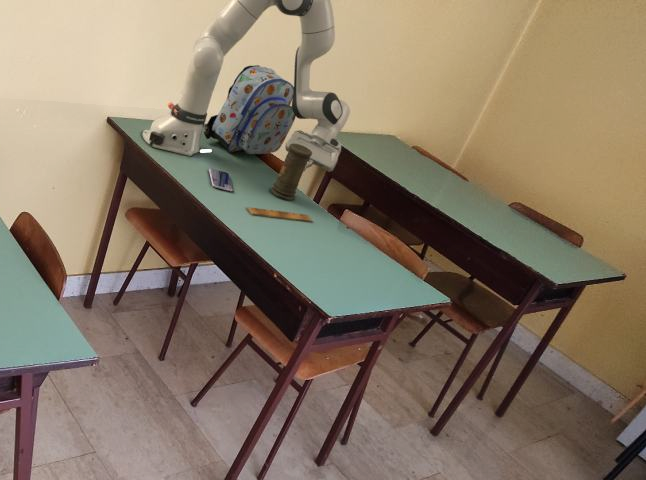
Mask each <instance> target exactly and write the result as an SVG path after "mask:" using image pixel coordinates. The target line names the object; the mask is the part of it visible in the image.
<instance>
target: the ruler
mask: <svg viewBox="0 0 646 480" xmlns="http://www.w3.org/2000/svg"><path fill="white" fill-rule="evenodd" d="M247 210H248V212H249V213H250V214H251V215H252V216H258V217H267V218H275V219H284V220H291V221H292V220H293V221H300V222H307V223H312V222H313V219H312V218H311V217H310V216H309V214H303V213H295V212H287V211H282V210H281V211H280V210H273V209H264V208H257V207H247Z"/></svg>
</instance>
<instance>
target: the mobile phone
mask: <svg viewBox="0 0 646 480" xmlns="http://www.w3.org/2000/svg"><path fill="white" fill-rule="evenodd" d="M208 172H209V177H210V181H211V185H212V188H214V189H219V190H223V191H227V192H233V191H234V188H233V185H232V181H231V177H230V175H229V173H228V172H226V171H222V170H218V169H215V168H209V169H208Z"/></svg>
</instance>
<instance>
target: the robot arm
mask: <svg viewBox="0 0 646 480" xmlns="http://www.w3.org/2000/svg"><path fill="white" fill-rule="evenodd" d="M271 7H276V8H277V9H278V11H279V12H280V13H282V14H284V15H286V16H293V17H299V21H300V29H301V38H300V39H301V40H300V45H299V46H298V47H297V49H296V51H295V55H294V56H295V57H294V70H293V71H294V72H293V73H294V74H293V75H294V76H293V87H294V94H293V99H292V101H291V106H292V110H293V113H294V114H295V116H296V117H295V118H296V119H299V120H317V124H316V125H314V127H313V129H312V131H311V132H310V134H309V133H308V132H305V131H303V130H301V129H300V130H294V131H293V133H292V134H291V137H289V139H287V141H286V142H285V145H284V146H285V147H284V148H285V151H286V152H287V153H288V150H289V146H290V144H299V145H302V146H305V147H307V148H308V149H310V150H311V151H312V155H311V156H310V158H309V160H308V162H307V165H306V167H305V169H304V171H303V172H306V170H307V169H308V168H311V167H313V166H316V167H318V168H320V169H323V170H324V171H326V172H328V173H330V172H333V171H334V169H335V168H336V165H337V163H338V160H339V156H340V154H341V151H342V144H341V142H339V141H338V140H337V139H336V138H337V135H338V134H339V133H341V131H342V130H343V128H344V127H345V125H346V123H347V121H348V119H349V117H350V114H351V108H350V105H348V103H347V102H346V101H344V100H342V99H339V97H338V95H337V94H336V93H334V92H331V91H318V90H317V91H315V90H311V88H310V79H311V65H312V63H313V62H314V61H315V60H317V59H319V58H321V57H323V56H325V55H326V54H327V53H329V52H330V50H331V49H332V47H333V46H334V44H335V40H336V39H335V38H336V30H335V29H336V28H335V18H334V11H333V6H332V1H331V0H228V2H227V3H226V4H225V5H224V6H223V8H222V9H221V10H220V12H219V13H218V14H217V16H215V17H214V19H212V21H211V22H210V23H209V24H208V26H206V28H205V29H204V30H203V31H202V33H200V35H199V36H198V37H197V39H196V40H195V41H194V44H193V47H192V52H191V55H190V56H191V57H190V60H189V63H188V67H187V70H186V74H185V77H184V80H183V83H182V88H181V91H180V95H179V99H178V102H176V103H175V104H173V102H172V101H170V102H168V104H167V107H168V109H169V110H170V113H167V114H165V115H162V116H161V117H159V118H158V117H157V118H156V119H154V120H153V121H152V123H151V125H150V127H149V129H144V130H143V131H142V133H141V134H142V135H141V136H142V138H143V139H144V141H145V142H146V143H147V144H148V145H149V146H151V147H153V148H155V149H160V150H162V151H163V150H164V151H168V152H172V153H177V154H181V155H183V156H184V155H185V156H193V154H198V153H199V152H200V153H211V152H212V149H201V146H200V145H201V137H202V131H203V128H204V127H205V124H206V120H207V118H208V109H209V107H210V103H211V100H212V96H213V93H214V91H215V87H216V85H217V82H218V78H219V76H220V73H221V70H222V67H223V64H224V58H225V56H226V55H227V54H228V53H229V52H230V51H231V50H232V49H233V48H234V46H236V45H237V44H238V43H239V42H240V41H241V40H242V39H243V38H244V36H245V35H246V34H247V33H248V32H249V31H250V29H251V28H252V27H253V26H254V24H256V22H257V21H258V19H260V17H261V16H262V15H263V13H264V12H265V11H266V10H267V9H269V8H271Z"/></svg>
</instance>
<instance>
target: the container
mask: <svg viewBox="0 0 646 480" xmlns="http://www.w3.org/2000/svg"><path fill="white" fill-rule="evenodd" d="M311 155H312V151H311V150H310V149H308V148H307V147H305V146H302V145H299V144H290V146H289V150H288V152H287V154H286V155H285V159H284V161H283V164H282V166H281V168H280V171H279V173H278V175H277V177H276V180H275V182H274V184H273V186H271V189H270V192H271V194H272V195H273V196H275V197H276V198H278V199H281V200H284V201H293V200H294V198H295V196H296V193H297V189H298V187H299V183H300V180H301V178H302V175H304V172H305V171H304V169H305V167H306V165H307V164H308V163H309V162H308V160H309V158H310V156H311Z"/></svg>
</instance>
